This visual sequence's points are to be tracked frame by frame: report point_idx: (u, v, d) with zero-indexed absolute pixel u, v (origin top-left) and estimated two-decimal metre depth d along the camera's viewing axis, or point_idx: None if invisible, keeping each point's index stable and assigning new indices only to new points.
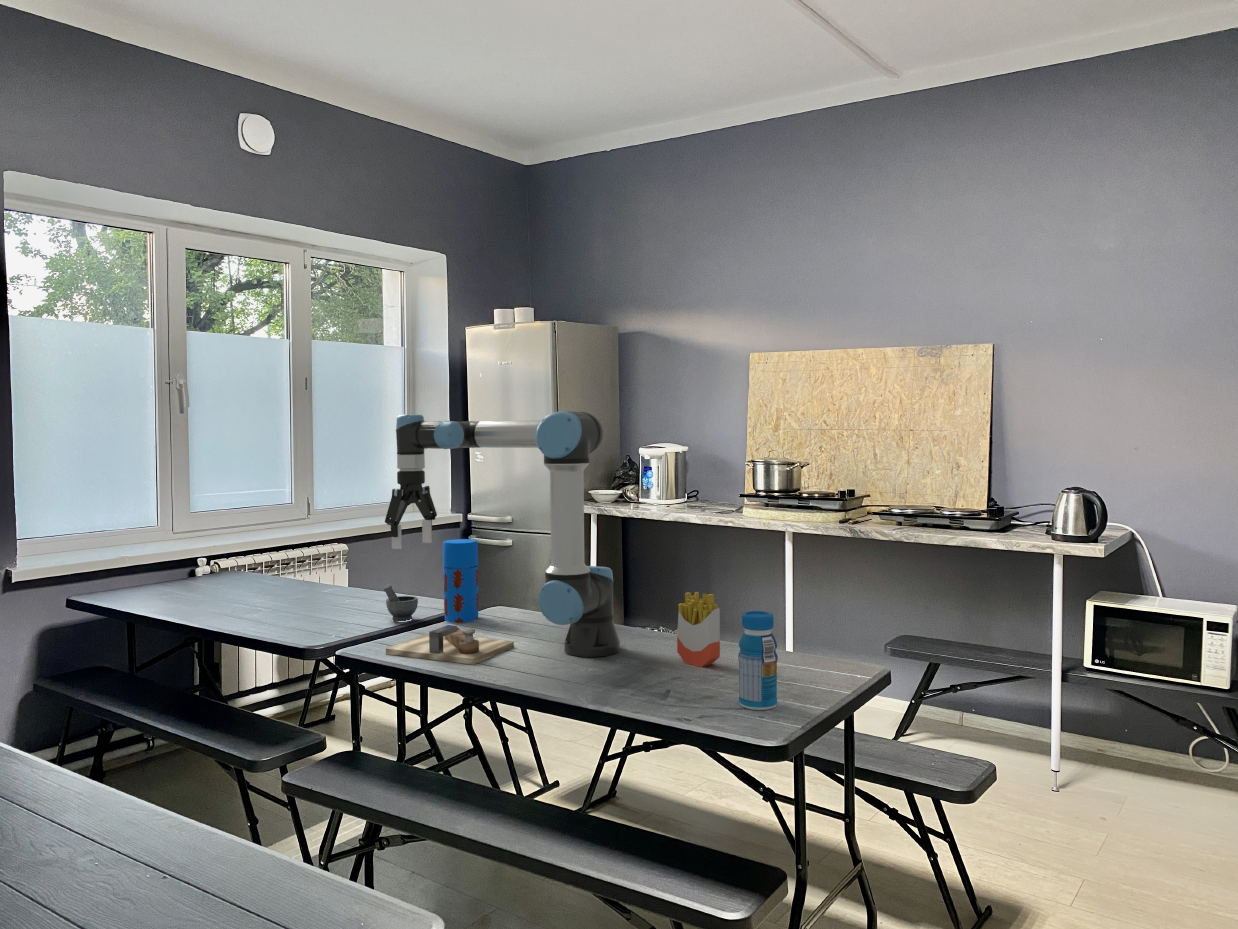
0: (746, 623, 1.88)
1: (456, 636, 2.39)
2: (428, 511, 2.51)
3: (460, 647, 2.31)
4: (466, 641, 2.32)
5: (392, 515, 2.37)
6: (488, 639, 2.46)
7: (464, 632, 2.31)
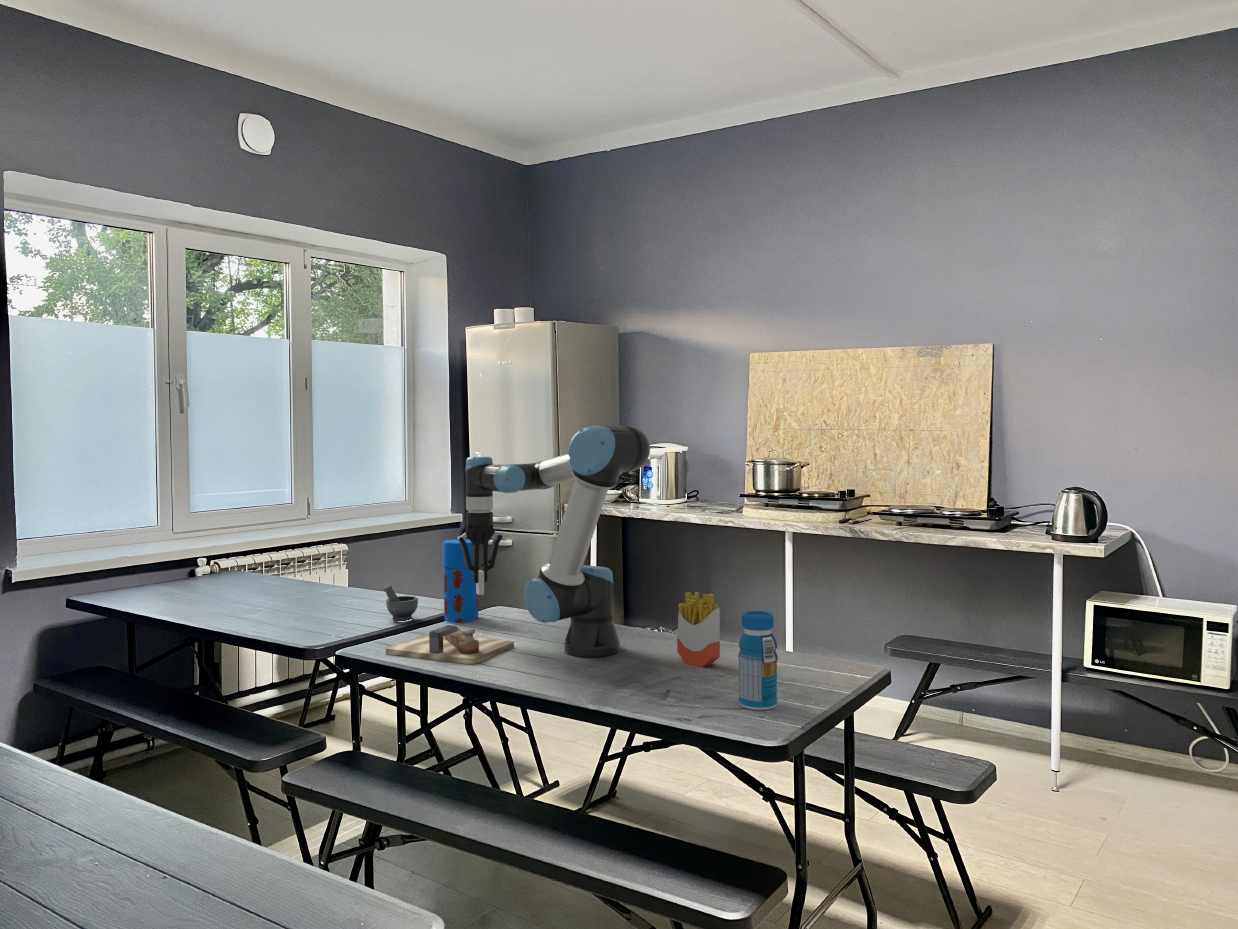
0: (746, 623, 1.88)
1: (456, 636, 2.39)
2: (485, 560, 2.48)
3: (460, 647, 2.31)
4: (466, 641, 2.32)
5: (467, 563, 2.46)
6: (488, 639, 2.46)
7: (464, 632, 2.31)
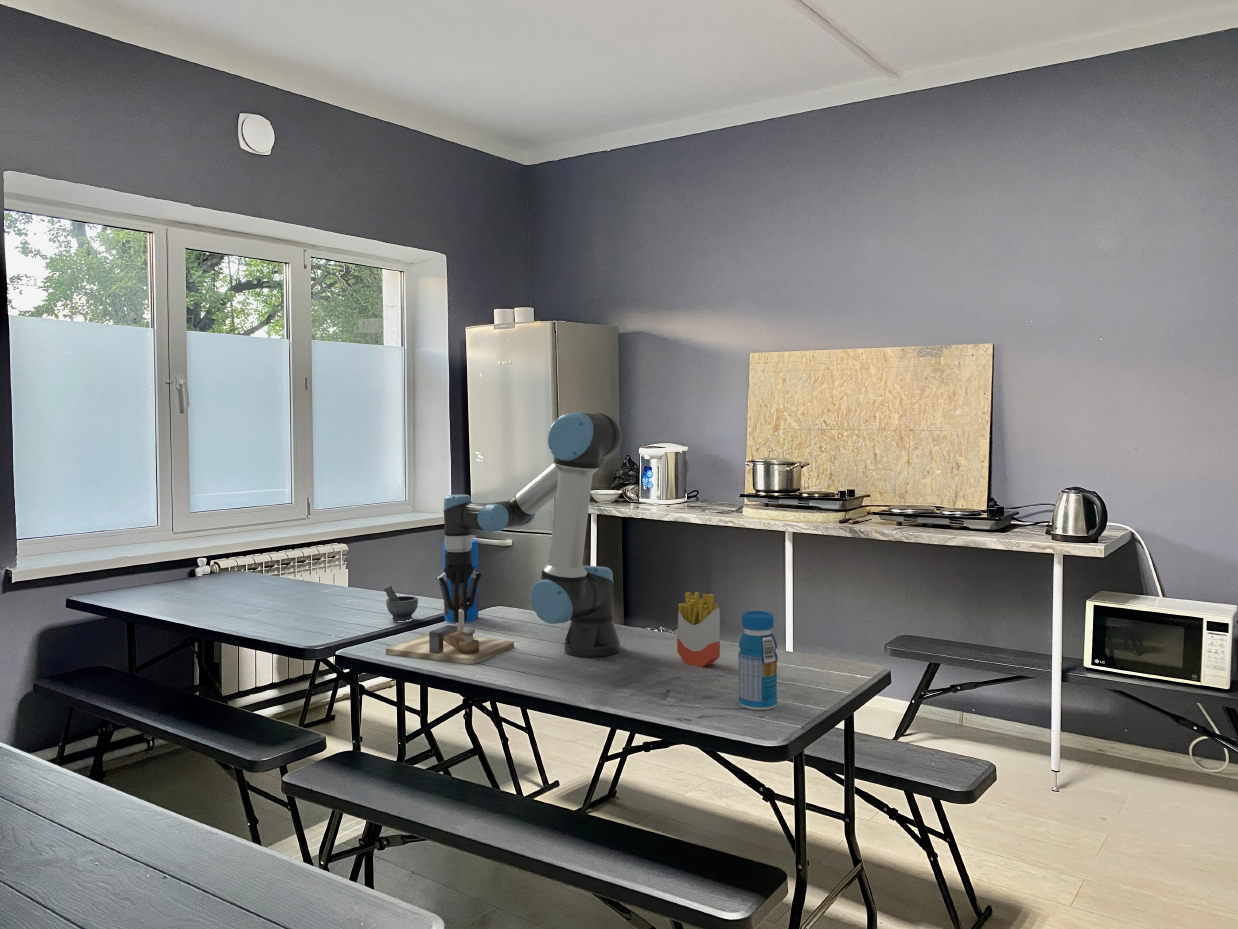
0: (746, 623, 1.88)
1: (455, 636, 2.38)
2: (465, 599, 2.46)
3: (461, 647, 2.31)
4: (466, 641, 2.32)
5: (447, 603, 2.44)
6: (488, 639, 2.46)
7: (464, 632, 2.31)
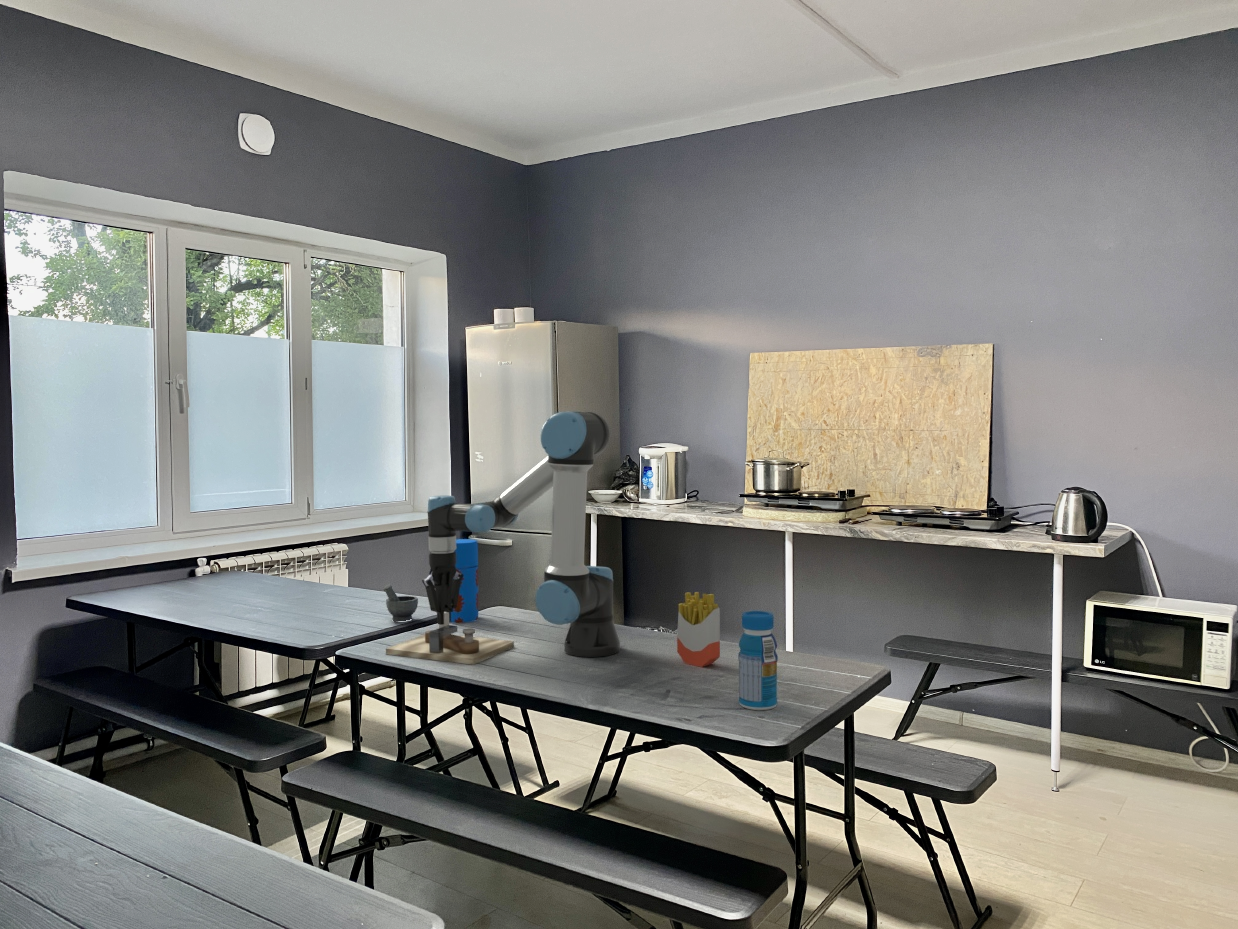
0: (746, 623, 1.88)
1: (448, 638, 2.37)
2: (450, 600, 2.45)
3: (463, 647, 2.30)
4: (467, 641, 2.32)
5: (434, 605, 2.41)
6: (488, 639, 2.46)
7: (466, 632, 2.31)
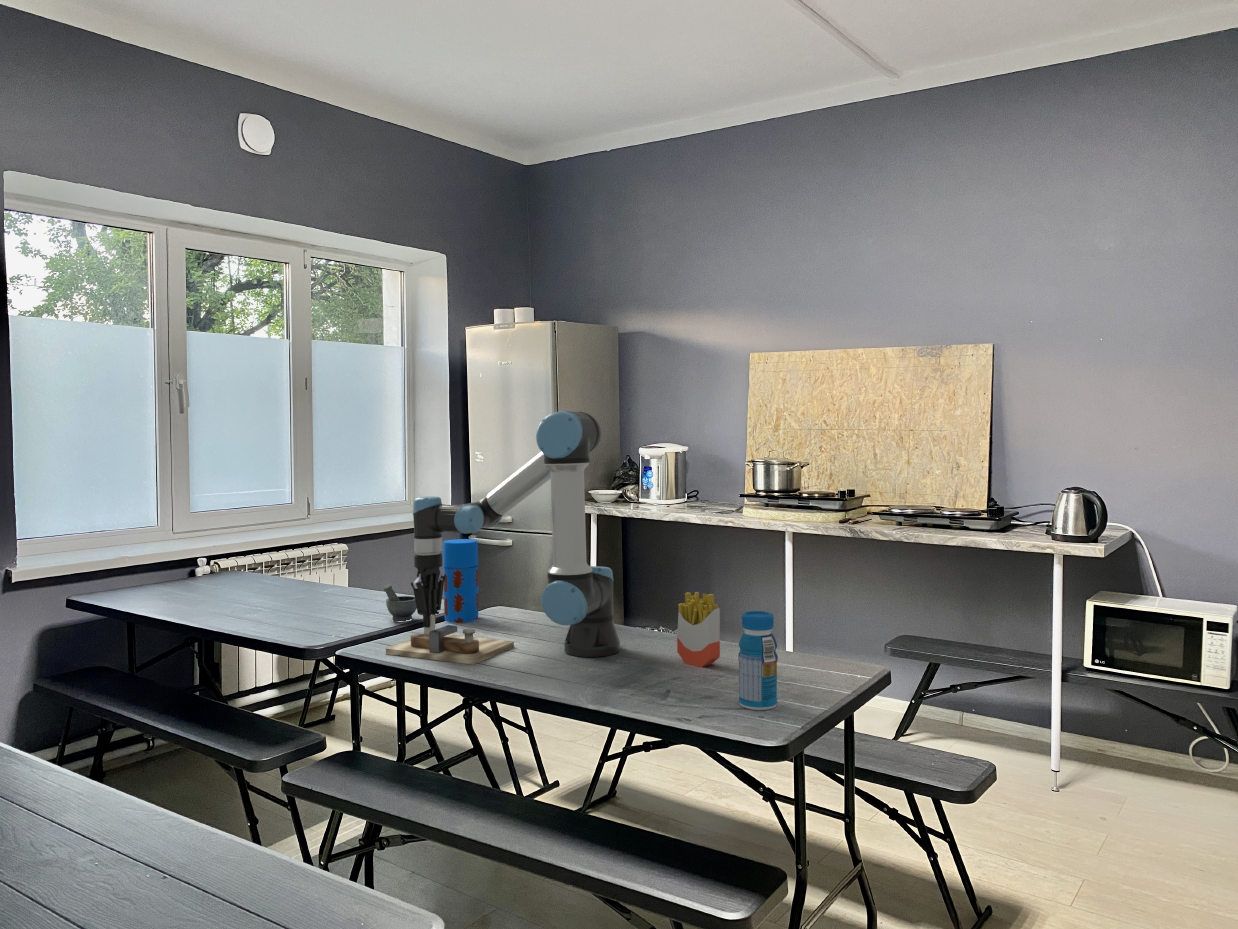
0: (746, 623, 1.88)
1: (443, 640, 2.35)
2: (435, 602, 2.42)
3: (466, 647, 2.30)
4: (468, 641, 2.32)
5: (422, 608, 2.37)
6: (488, 639, 2.46)
7: (467, 632, 2.31)
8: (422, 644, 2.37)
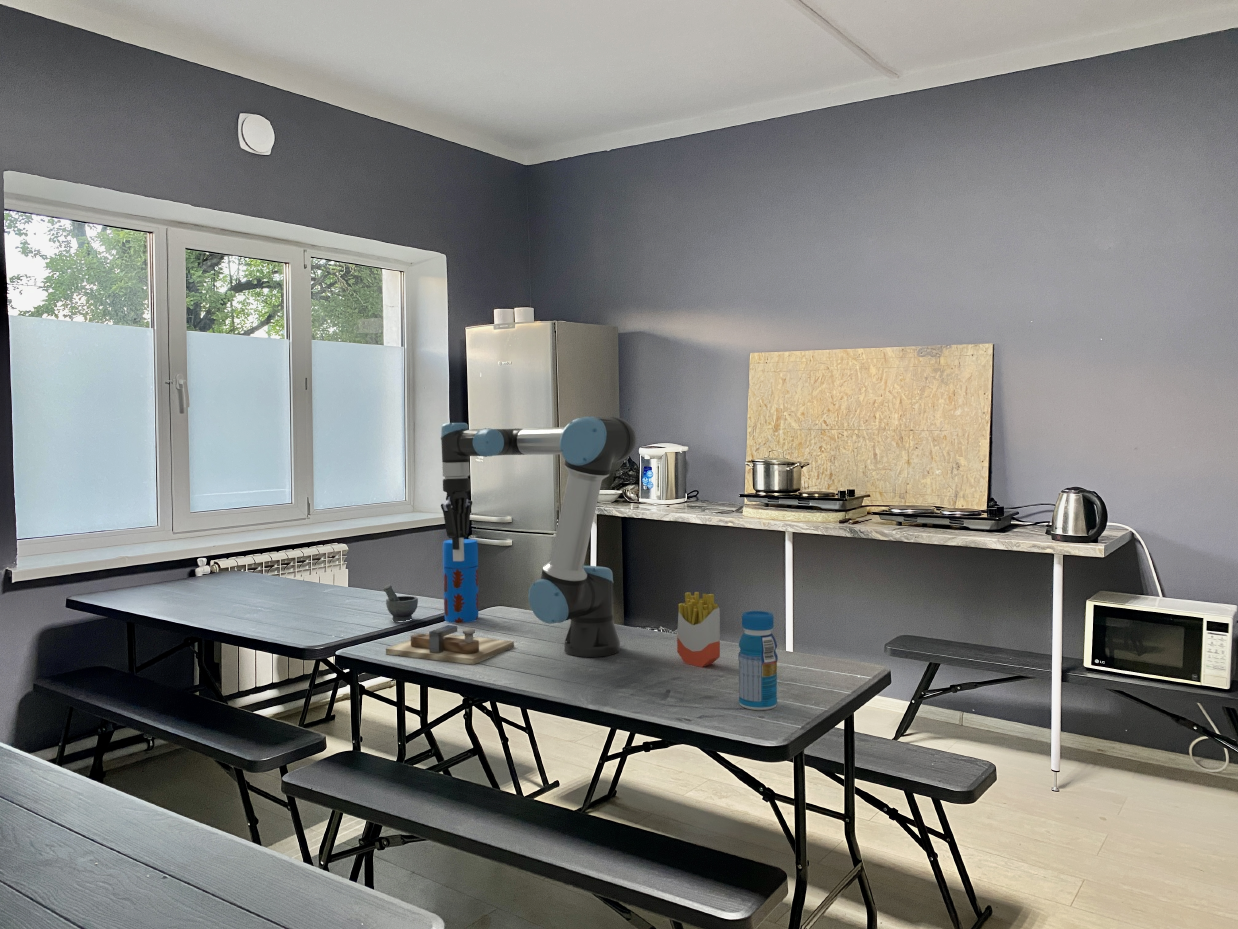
0: (746, 623, 1.88)
1: (443, 640, 2.35)
2: (463, 526, 2.49)
3: (466, 647, 2.30)
4: (468, 641, 2.32)
5: (452, 530, 2.44)
6: (488, 639, 2.46)
7: (467, 632, 2.31)
8: (422, 644, 2.37)
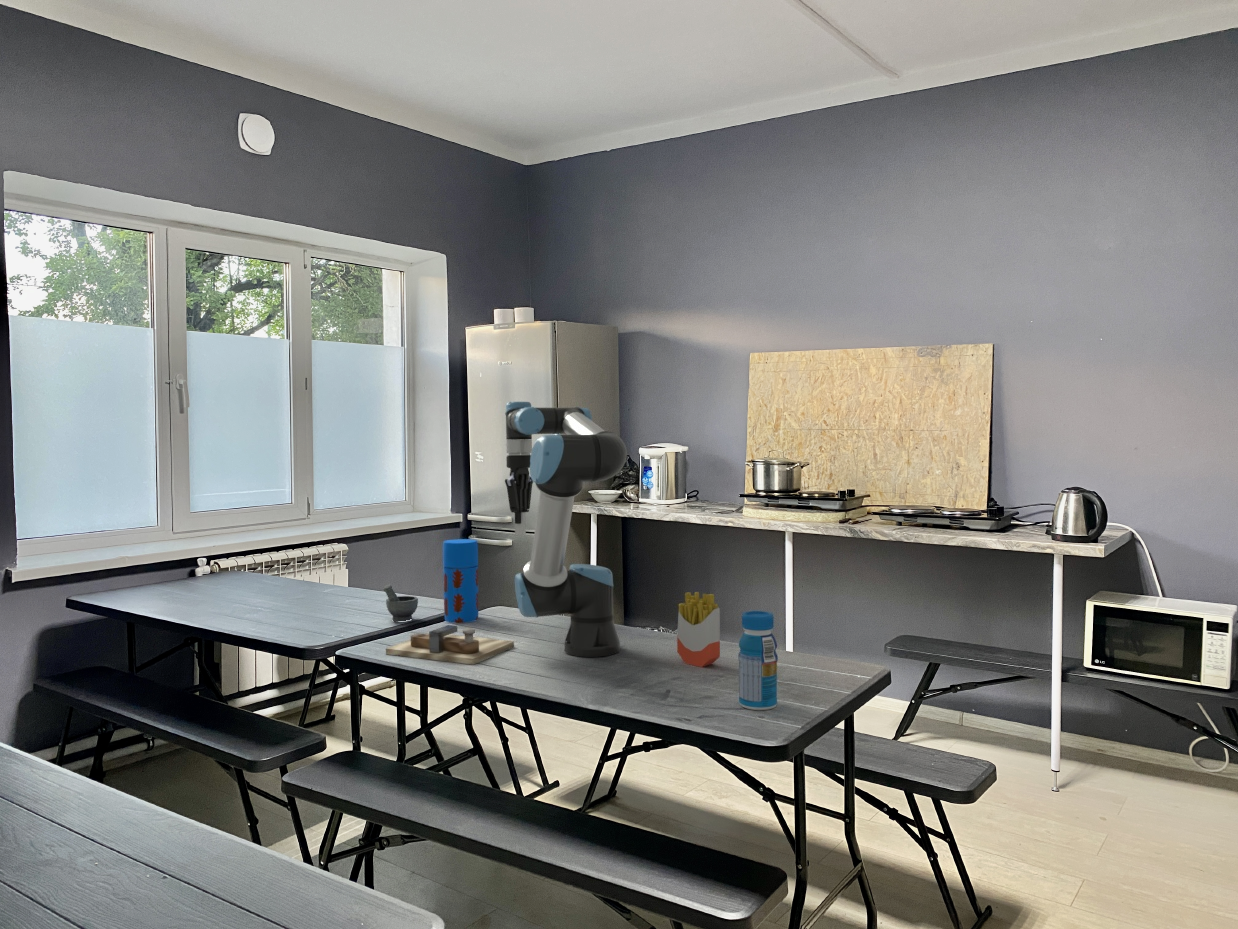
0: (746, 623, 1.88)
1: (443, 640, 2.35)
2: (525, 501, 2.59)
3: (466, 647, 2.30)
4: (468, 641, 2.32)
5: (515, 504, 2.54)
6: (488, 639, 2.46)
7: (467, 632, 2.31)
8: (422, 644, 2.37)
